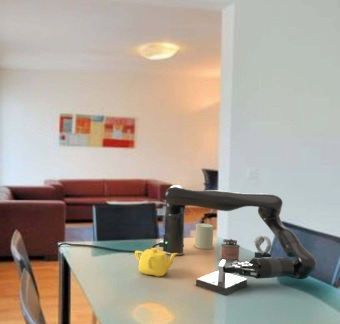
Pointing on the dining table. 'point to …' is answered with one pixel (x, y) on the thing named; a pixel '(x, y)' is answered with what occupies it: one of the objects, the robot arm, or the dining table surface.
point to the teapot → (154, 261)
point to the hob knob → (221, 271)
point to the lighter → (230, 251)
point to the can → (204, 236)
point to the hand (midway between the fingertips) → (224, 269)
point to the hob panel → (221, 283)
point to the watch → (260, 253)
